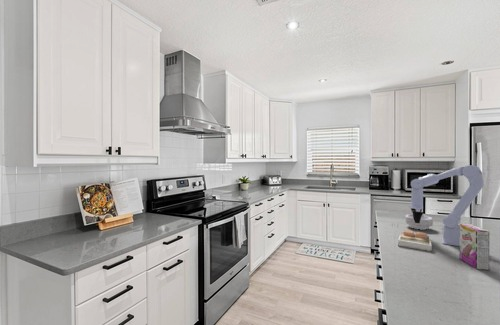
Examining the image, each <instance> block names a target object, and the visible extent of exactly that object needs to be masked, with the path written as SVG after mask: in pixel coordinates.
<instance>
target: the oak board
mask: <svg viewBox="0 0 500 325" xmlns="http://www.w3.org/2000/svg"><path fill="white" fill-rule="evenodd" d="M403 232H404V231H402V232H401V234H400V235H401V238H402V239H408V240H414V241H421V242H427V243H429V239H430V235H427V239H425V238H419V237H416V233H414V237H412V236H405V235H403Z"/></svg>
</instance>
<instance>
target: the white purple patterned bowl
mask: <svg viewBox="0 0 500 325" xmlns="http://www.w3.org/2000/svg"><path fill="white" fill-rule="evenodd" d="M404 220H405V224H407V225H408V226H409V227H410V228H411V229H413V228H414V229H413V230H418V229H420V230H421V231H427V230H429V228H430V227H433V226H434V225H433V224H434V222H433V221H434V220H433V217H431V216H428V215H424V214H423V215H422V216H421V219H420V223H415V221H414V218H413V213H411V214H410V213H409V214H406V215H405V219H404ZM426 229H427V230H426Z"/></svg>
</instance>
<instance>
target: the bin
mask: <svg viewBox="0 0 500 325" xmlns="http://www.w3.org/2000/svg"><path fill="white" fill-rule="evenodd" d="M401 235H402V234H399V236H398V239H397V246H398V247H404V248H409V249H414V250H421V251H425V250H427V252H432V247H433V246H432V239H430V238H429V243H427V242H421V241H414V240H408V239H402V238H401Z"/></svg>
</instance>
